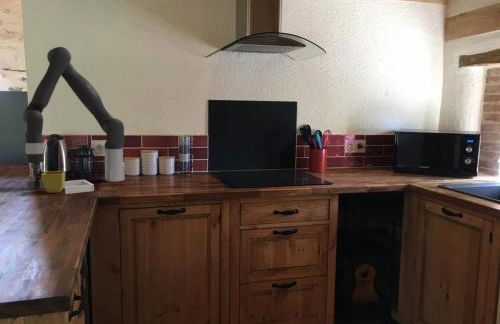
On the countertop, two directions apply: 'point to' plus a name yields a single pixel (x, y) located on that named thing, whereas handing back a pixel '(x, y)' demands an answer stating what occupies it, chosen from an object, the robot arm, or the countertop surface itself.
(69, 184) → the white shallow tray
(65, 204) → the countertop surface
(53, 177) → the flower pot
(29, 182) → the tall gray bar
